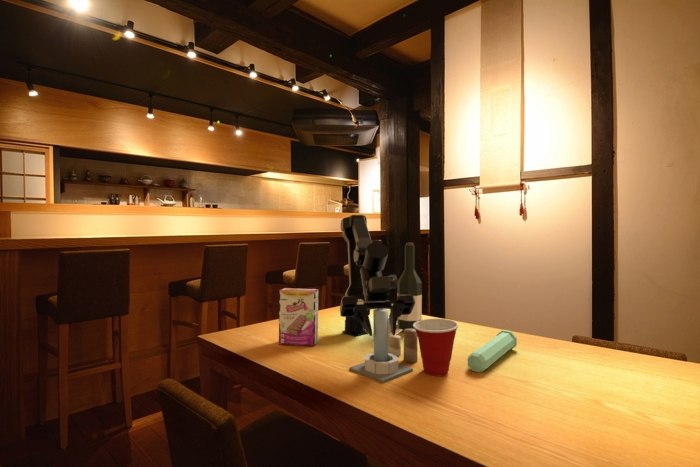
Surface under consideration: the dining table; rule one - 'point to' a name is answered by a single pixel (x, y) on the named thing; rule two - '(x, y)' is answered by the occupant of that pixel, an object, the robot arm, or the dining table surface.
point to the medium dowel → (410, 345)
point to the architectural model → (390, 329)
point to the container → (492, 351)
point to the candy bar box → (298, 316)
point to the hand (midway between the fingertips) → (382, 335)
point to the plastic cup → (436, 344)
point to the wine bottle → (410, 289)
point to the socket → (381, 368)
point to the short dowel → (394, 345)
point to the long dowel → (380, 335)
